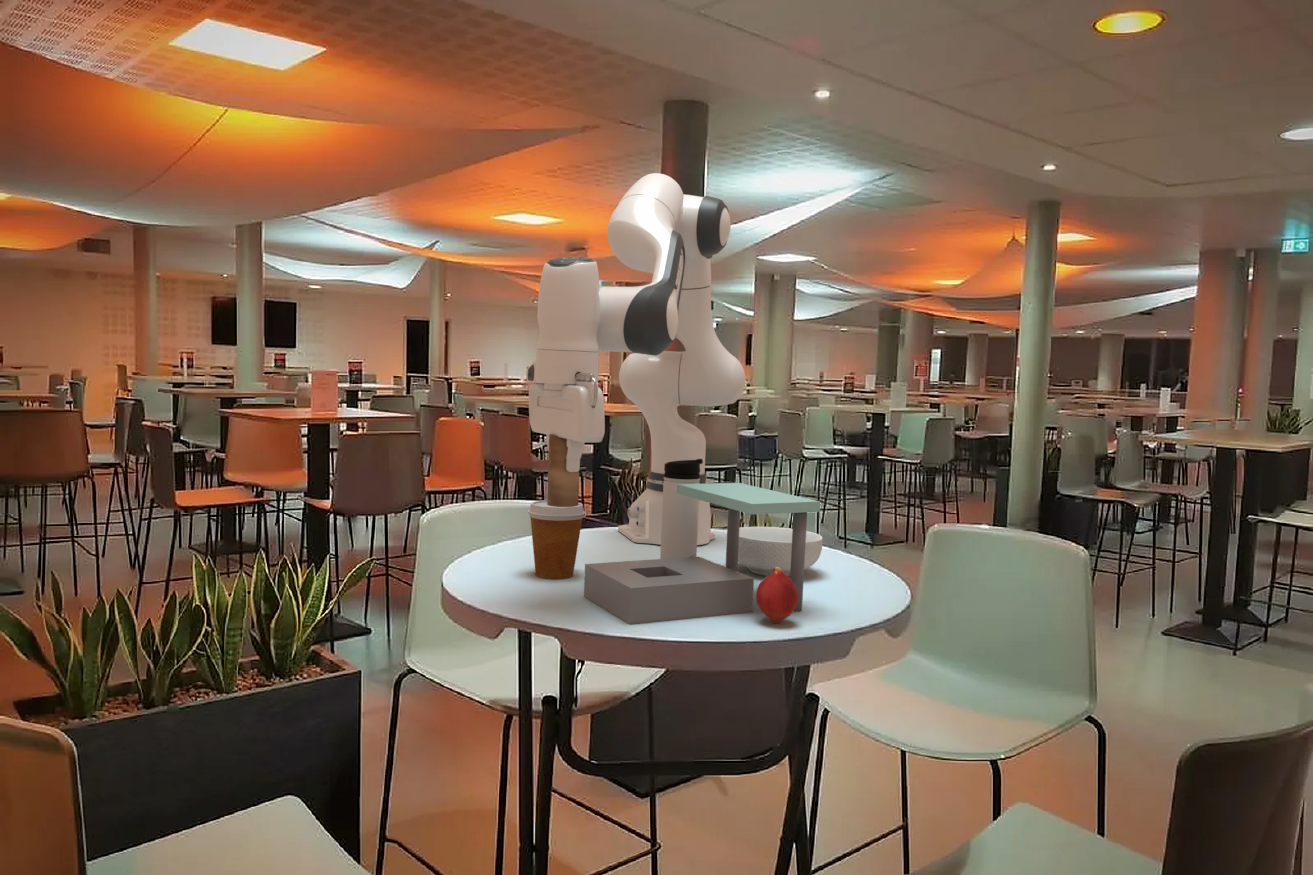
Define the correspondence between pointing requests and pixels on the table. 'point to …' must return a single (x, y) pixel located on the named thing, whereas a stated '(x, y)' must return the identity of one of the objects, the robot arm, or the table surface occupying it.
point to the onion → (777, 596)
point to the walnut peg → (560, 476)
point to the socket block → (667, 589)
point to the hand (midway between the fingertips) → (563, 469)
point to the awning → (758, 503)
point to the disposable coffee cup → (555, 538)
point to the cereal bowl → (774, 549)
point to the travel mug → (679, 510)
